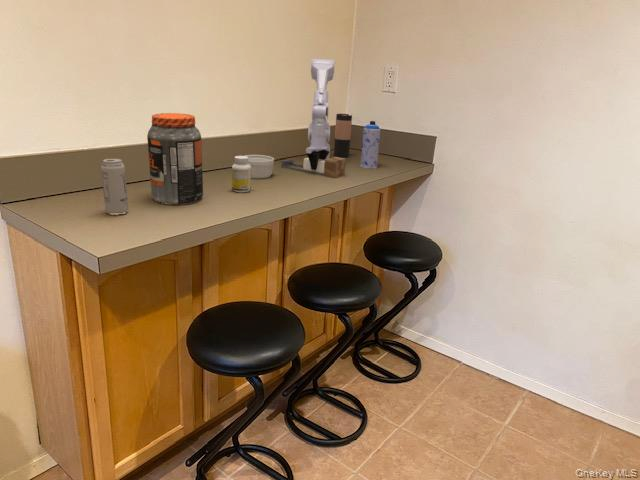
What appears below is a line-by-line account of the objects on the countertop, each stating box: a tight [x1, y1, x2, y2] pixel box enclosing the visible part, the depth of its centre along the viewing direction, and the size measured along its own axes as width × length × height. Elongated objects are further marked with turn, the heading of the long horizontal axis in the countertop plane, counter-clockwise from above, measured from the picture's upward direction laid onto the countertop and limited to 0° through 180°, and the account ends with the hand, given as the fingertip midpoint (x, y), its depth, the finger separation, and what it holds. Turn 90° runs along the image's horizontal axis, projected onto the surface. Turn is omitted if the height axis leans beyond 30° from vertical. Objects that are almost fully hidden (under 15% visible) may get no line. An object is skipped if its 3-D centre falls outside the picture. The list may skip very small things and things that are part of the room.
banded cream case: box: [302, 157, 325, 173], centre depth 199 cm, size 5×14×5 cm, turn 57°
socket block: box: [323, 156, 347, 179], centre depth 195 cm, size 8×5×7 cm, turn 147°
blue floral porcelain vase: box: [359, 120, 381, 170], centre depth 214 cm, size 8×8×20 cm
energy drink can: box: [100, 158, 129, 213], centre depth 134 cm, size 6×6×15 cm
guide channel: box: [280, 158, 325, 177], centre depth 203 cm, size 8×22×2 cm, turn 57°
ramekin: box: [245, 154, 275, 180], centre depth 188 cm, size 13×13×7 cm
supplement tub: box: [146, 112, 204, 205], centre depth 149 cm, size 16×16×26 cm
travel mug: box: [333, 113, 353, 159], centre depth 233 cm, size 8×8×20 cm
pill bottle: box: [231, 155, 252, 193], centre depth 165 cm, size 6×6×12 cm
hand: (317, 168), depth 200 cm, fingers closed on banded cream case, 4 cm apart
